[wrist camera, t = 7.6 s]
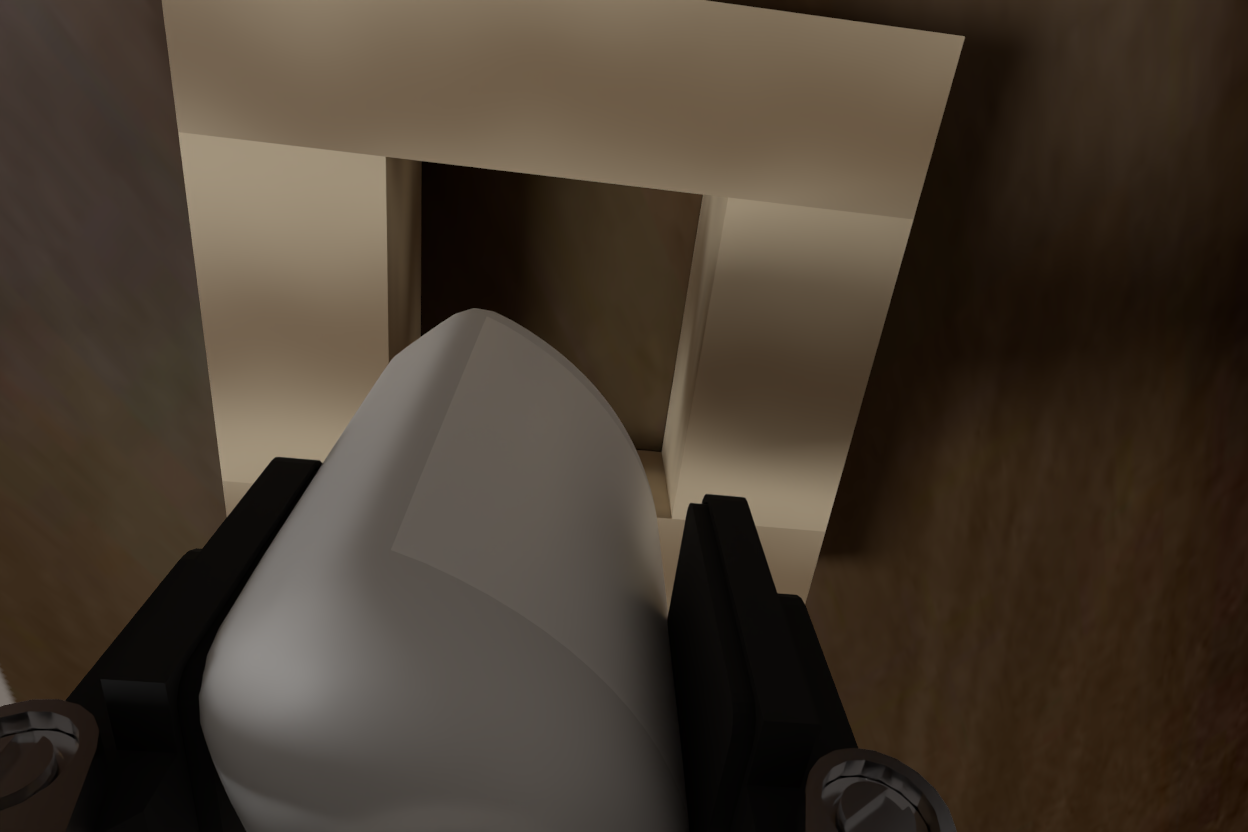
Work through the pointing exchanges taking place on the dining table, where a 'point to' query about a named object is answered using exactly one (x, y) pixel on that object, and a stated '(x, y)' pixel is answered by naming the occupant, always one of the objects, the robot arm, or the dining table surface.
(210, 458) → the dining table surface
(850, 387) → the rectangular frame
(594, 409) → the eye dropper bottle
